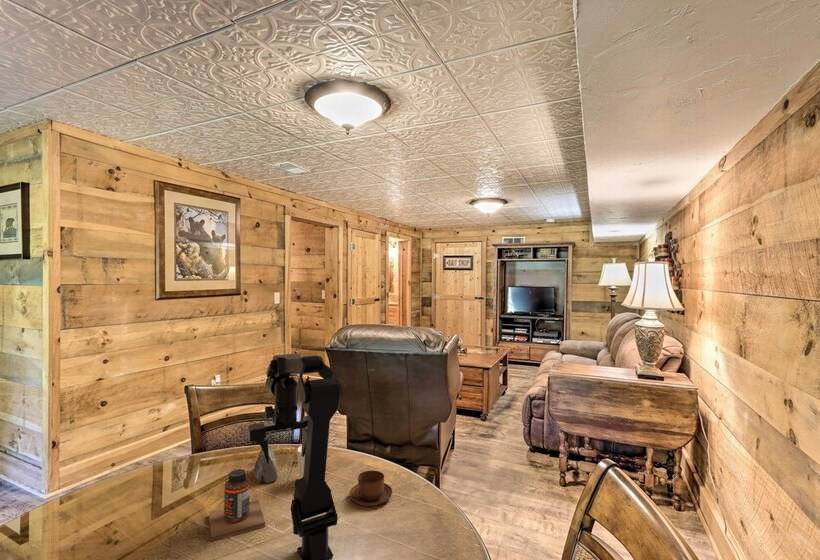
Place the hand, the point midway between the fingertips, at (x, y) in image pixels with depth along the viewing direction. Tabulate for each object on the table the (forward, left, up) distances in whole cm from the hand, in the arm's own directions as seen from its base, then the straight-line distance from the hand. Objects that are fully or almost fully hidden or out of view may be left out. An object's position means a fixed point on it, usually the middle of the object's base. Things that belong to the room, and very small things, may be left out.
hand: (285, 459), depth 108 cm
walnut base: (0, +12, -13) cm, 18 cm away
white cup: (+12, -10, -13) cm, 21 cm away
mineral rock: (+23, +1, -13) cm, 26 cm away
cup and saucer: (-6, -22, -13) cm, 27 cm away
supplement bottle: (0, +12, -12) cm, 17 cm away
